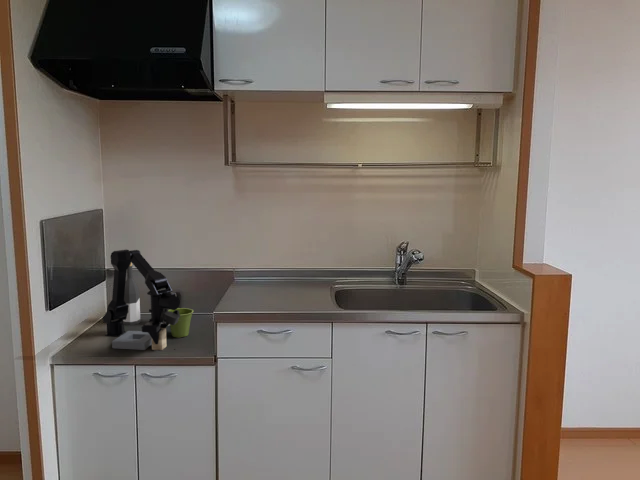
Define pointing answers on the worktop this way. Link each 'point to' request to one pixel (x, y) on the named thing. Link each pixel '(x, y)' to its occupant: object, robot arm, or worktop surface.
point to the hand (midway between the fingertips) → (159, 342)
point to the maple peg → (160, 340)
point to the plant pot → (182, 323)
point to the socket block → (133, 340)
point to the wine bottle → (132, 299)
